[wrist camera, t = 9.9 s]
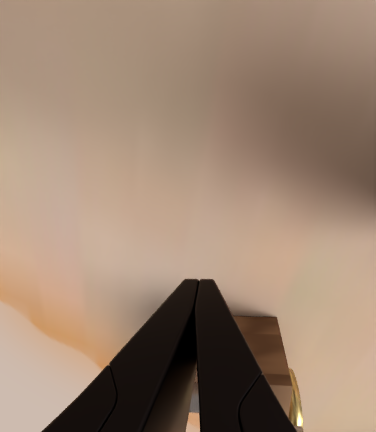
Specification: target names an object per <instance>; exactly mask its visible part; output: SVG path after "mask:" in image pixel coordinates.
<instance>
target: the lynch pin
mask: <svg viewBox="0 0 376 432" xmlns="http://www.w3.org/2000/svg"><path fill="white" fill-rule="evenodd" d="M289 373H290V377H291V381H292V386H293V387H292V395H291V402H290V410H289V417H288V418H289V419H290V421H291V422H292V424H293V425H294V427H295V428H296V430H297V432H303V417H302V407H301V400H300V394H299V389H298V385H297V381H296V377H295V375H294V372H293V370H292V369H291V368H289ZM189 412H192V413H199V395H198V383H197V382H194V386H193V392H192V397H191V403H190V409H189Z"/></svg>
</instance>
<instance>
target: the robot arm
mask: <svg viewBox="0 0 376 432" xmlns="http://www.w3.org/2000/svg"><path fill="white" fill-rule="evenodd" d="M109 365H110V366H109ZM109 365H107V366H106V367H105V368H104V369H103V370H102V371H101V373H100V374H99V375H98V376H97V377H96V378H95V379H94V380H93V381H92V382H91V383H90V384H89V385H88V387H87V388H86V389H85V390H84V391H83V392H82V393H81V394H80V395H79V396H78V397H77V398H76V399H75V400H74V401H73V402H72V403H71V404H70V405H69V406H68V407H67V408H66V409H65V410H64V411H63V412H62V413H61V414H60V415H59V416H58V417H56V419H54V420H53V421H52V422H51V423H50V424H49V425H48V426H47V427H46V428H45V429H44V430H43V431H42V432H186V425H187V420H188V415H189V409H190V403H191V397H192V392H193V386H194V380H195V374H196V369H197V376H198V395H199V415H200V432H297V430H296V428H295V427H294V425H293V424H292V422H291V421H290V419H289V418H288V416H287V414H286V413H285V411H284V409H283V407H282V406H281V404H280V402H279V400H278V399H277V397H276V395H275V393H274V392H273V390H272V388H271V386H270V384H269V382H268V381H267V379H266V377H265V375H263V372H262V370H261V368H260V366H259V364H258V362H257V360H256V358H255V356H254V355H253V353H252V351H251V349H250V347H249V345H248V343H247V341H246V339H245V338H244V336H243V334H242V332H241V330H240V328H239V326H238V324H237V322H236V321H235V319H234V317H233V315H232V313H231V311H230V309H229V307H228V305H227V304H226V302H225V300H224V298H223V296H222V294H221V292H220V290H219V289H218V287H217V285H216V283H215V281H214V280H213V279H201V280H200V281H199V280H198V279H185V280H184V281H183V282H182V283H181V284H180V285H179V286H178V287H177V288H176V289H175V291H174V292H173V293H172V294H171V295H170V296H169V297H168V298H167V299H166V301H165V302H164V303H163V304H162V305H161V306H160V307H159V308H158V309H157V311H156V312H155V313H154V314H153V315H152V316H151V317H150V318H149V319H148V321H147V322H146V323H145V324H144V325H143V326H142V327H141V328H140V329H139V331H138V332H137V333H136V334H135V335H134V336H133V337H132V338H131V339H130V341H129V342H128V343H127V344H126V345H125V346H124V347H123V348H122V349H121V351H120V352H119V353H118V354H117V355H116V356H115V357H114V358H113V359H112V361H111V362H110V363H109Z"/></svg>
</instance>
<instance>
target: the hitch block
mask: <svg viewBox="0 0 376 432" xmlns="http://www.w3.org/2000/svg"><path fill="white" fill-rule="evenodd" d="M233 317H234V319H235V321H236V322H237V324H238V326H239V328H240V330H241V332H242V334H243V336H244V338H245V339H246V341H247V343H248V345H249V347H250V349H251V351H252V353H253V355H254V356H255V358H256V360H257V362H258V364H259V366H260V368H261V370H262V372H263V375H265V377H266V379H267V381H268V382H269V384H270V386H271V388H272V390H273V392H274V393H275V395H276V397H277V399H278V400H279V402H280V404H281V406H282V407H283V409H284V411H285V413H286V414H287V416H288V417H289V410H290V402H291V395H292V387H293V386H292V381H291V377H290V373H289V368H288V364H287V359H286V355H285V351H284V346H283V342H282V338H281V333H280V329H279V325H278V320H277V317H245V316H233Z"/></svg>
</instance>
